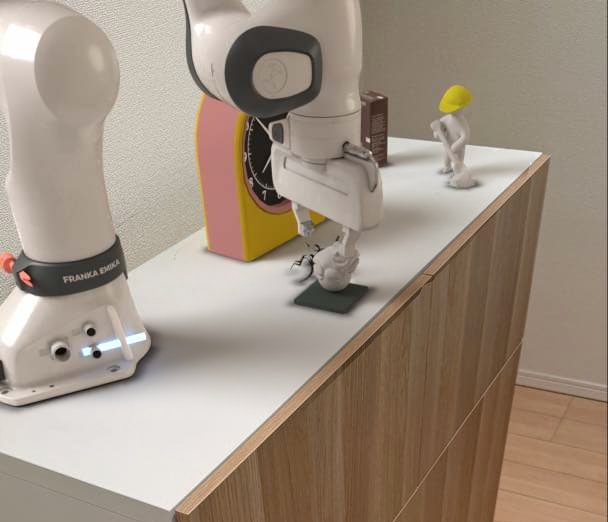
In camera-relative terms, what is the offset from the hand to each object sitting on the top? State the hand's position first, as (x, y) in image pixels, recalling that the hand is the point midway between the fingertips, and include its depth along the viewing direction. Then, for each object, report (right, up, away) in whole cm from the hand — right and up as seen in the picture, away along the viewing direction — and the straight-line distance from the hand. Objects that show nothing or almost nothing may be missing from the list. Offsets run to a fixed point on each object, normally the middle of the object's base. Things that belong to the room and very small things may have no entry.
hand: (325, 245), depth 105 cm
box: (+10, +34, +48) cm, 60 cm away
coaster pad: (+1, -5, +6) cm, 8 cm away
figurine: (+25, +27, +39) cm, 54 cm away
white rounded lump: (+2, -4, +6) cm, 8 cm away
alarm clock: (-9, +11, +24) cm, 28 cm away
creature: (-1, 0, +12) cm, 12 cm away
